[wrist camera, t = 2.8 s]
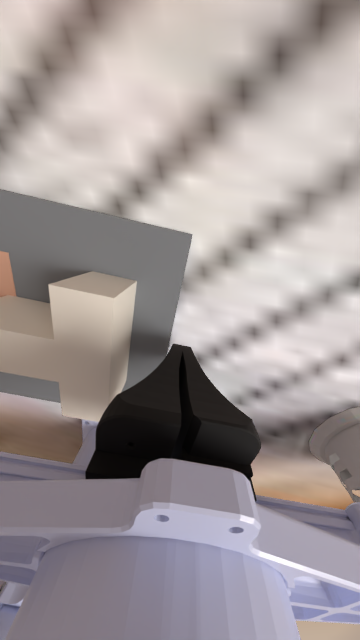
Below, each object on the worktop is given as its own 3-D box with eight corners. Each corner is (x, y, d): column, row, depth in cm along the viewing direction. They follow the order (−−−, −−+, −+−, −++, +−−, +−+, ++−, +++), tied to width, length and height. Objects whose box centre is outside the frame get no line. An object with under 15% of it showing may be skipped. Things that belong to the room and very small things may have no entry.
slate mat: (153, 416, 18) (152, 420, 17) (-72, 374, 17) (-78, 377, 16) (192, 234, 11) (192, 234, 10) (-187, 145, 10) (-204, 141, 9)
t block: (126, 380, 15) (107, 423, 12) (22, 361, 15) (-32, 399, 11) (136, 280, 12) (114, 298, 8) (-1, 251, 11) (-92, 254, 8)
